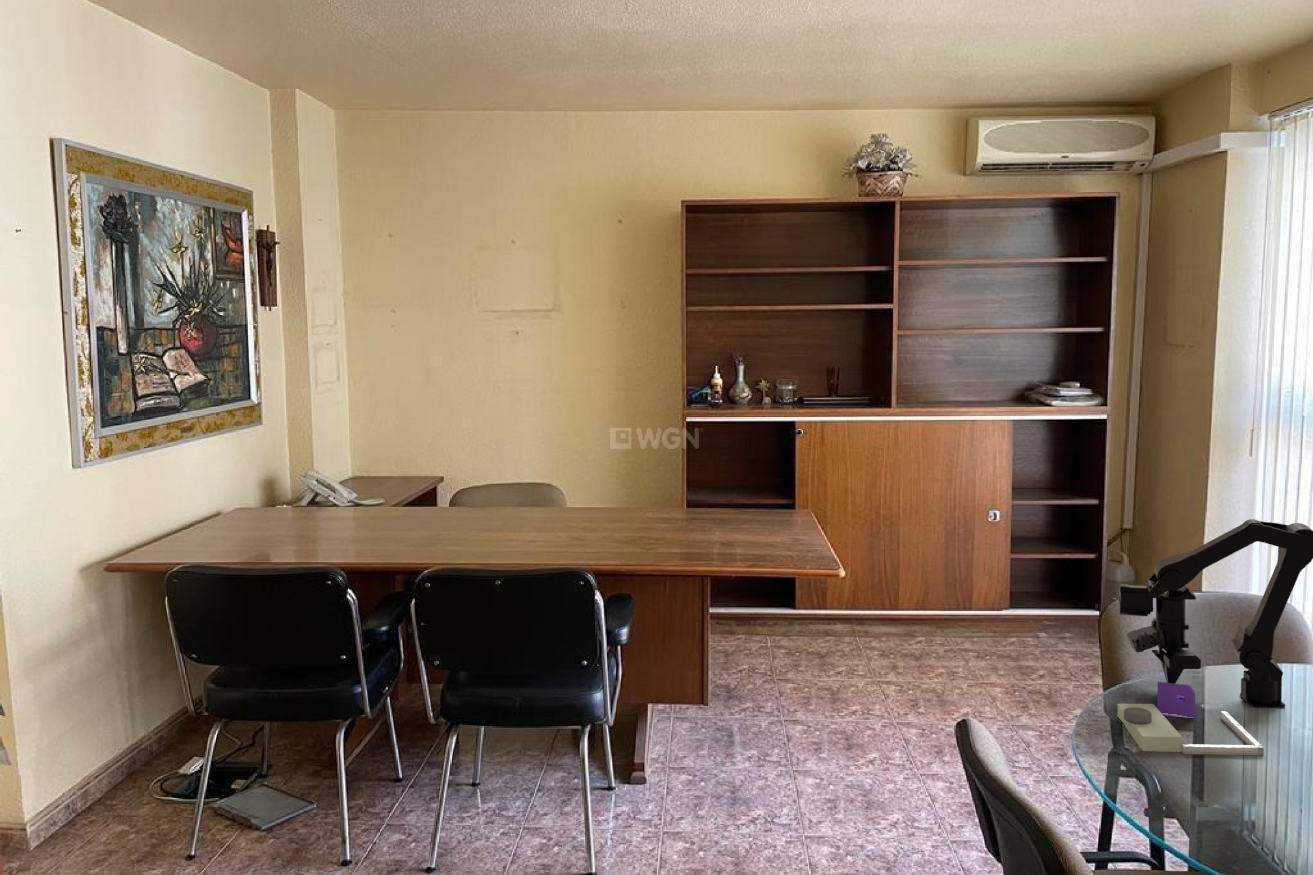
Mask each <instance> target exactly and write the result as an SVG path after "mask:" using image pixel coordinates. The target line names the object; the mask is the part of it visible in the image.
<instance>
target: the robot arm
mask: <svg viewBox="0 0 1313 875" xmlns="http://www.w3.org/2000/svg"><path fill="white" fill-rule="evenodd" d="M1256 542H1259V543H1264V544H1268V545H1271V546H1274V547H1277V549H1278V550H1277V563H1276V564H1275V567H1274V569H1273V572H1272V574H1271V576H1270V579H1269V581H1268V583H1267V586H1266V589H1265V590H1264V593H1263V595H1262V598H1261V600H1260V602H1259V604H1258V607H1257V610H1256V612H1255V614H1254V616H1253V620H1252V621H1251V622H1250V623H1249V624H1248V625H1247V626H1246V627H1244V626H1242V625H1238V627H1237V632H1236V635H1235V636H1234V637H1233V638H1232V639H1231V642H1232V644H1233V652H1234V654H1235V656H1236V657H1237V659H1238V660H1239V662H1240V664H1241V665H1242V666H1243V668H1245V669H1247V670H1243V677H1242V678H1240V693H1239V697H1241V698H1242V699H1243V700H1244V701H1245V702H1246V703H1247V704H1249V705H1250V706H1251V707H1255V708H1259V707H1260V708H1285V707H1286V704H1285V703H1284V702H1283V700H1282V695H1283V693H1282V692H1283V691H1282V689H1283V679H1282V678H1283V675H1284V671H1283V670H1282V669H1281V667H1280V666H1279V664H1278V663H1277V661H1276V659H1274V657H1272V656H1273V652H1274V651H1273V650H1274V641H1275V639H1274V638H1275V631H1276V629H1277V628H1278V624H1279V622H1280V619H1281V618H1282V615H1283V613H1284V610H1285V609H1286V607H1287V606H1286V605H1287V604H1288V602H1289V600H1290V596H1291V595H1292V591H1293V589H1294V587H1295V586H1296V582H1297V581H1298V578H1299V575H1300V574H1301V572H1302V571H1303V570H1304V569H1305V568H1306V567H1307V566H1308V565H1310V563H1311V562H1312V560H1313V529H1312V528H1310V527H1309V526H1308V525H1306V524H1303V523H1302V522H1301V523H1300V522H1294V523H1290V524H1285V523H1284V524H1283V523H1278V522H1271V521H1263V520H1258V519H1255V518H1252V519H1247V520H1245V521H1244V522H1243V523H1241V524H1240V525H1237V526H1236V527H1234V528H1232V529H1230V530H1228V531H1226V532H1224V533H1223V534H1221V535H1219V536H1217V537H1215V538H1213V539H1211V540H1209V541H1208V542H1206V543H1204V544H1202V545H1200V546H1198V547H1196V548H1194V549H1193V550H1189V551H1187V552H1186V551H1185V552H1181V553H1176V554H1174V555H1170V556H1168V557H1165V558H1162V559H1160V560H1158V561H1157V562H1156V564H1155V565H1154V572H1153V574H1152V575H1151V576H1150V577H1149V578H1148V579H1147V580H1146V581H1145V582H1144V585H1134V584H1133V585H1132V584H1126V583H1120V584H1119V590H1118V595H1117V606H1118V607H1117V608H1118V615H1119V616H1129V617H1130V616H1131V617H1132V616H1133V617H1148V616H1149V615H1151V613H1153V612H1154V599H1155V618H1152V620H1151V624H1150V625H1149V626H1145V627H1141V628H1138V629H1135V630H1132V631H1129V632H1127V633H1126V637H1127V639H1128V641H1129V643H1130V646H1131V648H1132V649H1133V650H1134V651H1135V653H1143V652H1144V651H1147V650H1150V649H1152V648H1154V649H1152V650H1151V652H1152V654H1153V655H1154V656H1155V657H1156V658H1157V659H1158V660H1159V661H1160V664H1161V667H1162V671H1163V675H1164V679H1165V683H1173V684H1177V682H1178V680H1179V679H1180V676H1181V675H1182V673H1183V671H1184V670H1200V669H1202V660H1201V658H1199V656H1197V654H1195V653H1194V652H1193V651H1192V650H1191V649H1189V646H1190V645H1189V642H1188V641H1187V640H1186V630H1187V631H1188V630H1190V626H1189V624H1188V623H1187V622H1186V621H1187V620H1186V618H1187V617H1186V608H1187V607H1186V600H1193V601H1194V600H1197V597H1196V595H1195V593H1194V591H1192V590H1190V588H1189V587H1188V586H1187V585H1188V584H1189V583H1190V582H1191V581H1193V580H1194V579H1195V578H1196V577H1197V576H1198V575H1199V574H1200V573H1201V572H1202V571H1204V570H1205V569H1206V568H1208V567H1210V566H1212V565H1214V564H1216V563H1218V562H1220V561H1222V560H1223V559H1225V558H1227V557H1229V556H1231V555H1234V554H1235V553H1237V552H1239V551H1241V550H1243V549H1245V548H1246V547H1248V546H1251V545H1252V544H1254V543H1256Z"/></svg>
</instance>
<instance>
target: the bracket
mask: <svg viewBox="0 0 1313 875" xmlns="http://www.w3.org/2000/svg"><path fill="white" fill-rule="evenodd" d="M1195 692H1196V691H1195V690H1194V688H1193V687H1192V686H1191V685H1188V684H1181V683H1175V684H1173V683H1167V682H1162V681H1157V709H1158V710H1159V711H1160V712H1161V713H1168V714H1177V715H1182V716H1187V717H1194V718H1195V719H1196V693H1195Z"/></svg>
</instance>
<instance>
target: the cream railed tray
mask: <svg viewBox="0 0 1313 875" xmlns="http://www.w3.org/2000/svg"><path fill="white" fill-rule="evenodd" d="M1118 717H1119V719H1120V720H1121V721H1122V722H1123V723H1124V725H1125V727H1126V728H1127V729H1126V728H1125V727H1124V728H1125V729H1126V730H1128V731H1127V732H1128V734H1131V735H1130V736H1131V737H1132V739H1133V740H1134V741H1135V742H1136V744H1137V745H1138V747H1139V748H1140V750H1141V751H1142V752H1165V753H1166V752H1169V753H1170V752H1171V753H1172V752H1173V753H1174V752H1179V753H1182V754H1183V755H1218V756H1219V755H1221V756H1224V755H1225V756H1264V753H1265V750H1264V749H1265V748H1264V747H1263V745H1262V744H1260V742H1258V740H1256V738H1255V737H1253V736H1252V735H1251V734H1250V733H1249V732H1248V731H1247V730H1246V729H1245V727H1243V726H1242V725H1241V724H1240V723H1239V722H1238V721H1237V720H1236V719H1235V718H1234V717H1233V716H1231V715H1230V713H1229V712H1228V711H1220V719H1221V720H1222V721H1223V722H1224V723H1225V724H1226V725H1227V726H1228V727H1229V728H1230V729H1231V730H1232V731H1233V732H1234V733H1235V734H1236V735H1237V736H1238V737H1239V738H1240V739H1241V740H1242V741H1243V742H1244V743H1245V744H1240V745H1239V744H1192V743H1191V744H1186V743H1185V744H1184V743H1183V742H1182V741H1183V740H1182V738H1183V736H1181V734H1180V733H1179V732H1178V731H1177V730H1176V728H1175V727H1174V726H1173V725H1172V723H1171V722H1169V720H1168V718H1166V716H1163V715H1162V713H1161V712H1160V711H1159V710H1158V707H1156V705H1155V704H1154V703H1117V718H1118ZM1119 719H1118V720H1119ZM1120 720H1119V721H1120ZM1121 721H1120V722H1121ZM1124 725H1123V726H1124Z"/></svg>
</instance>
